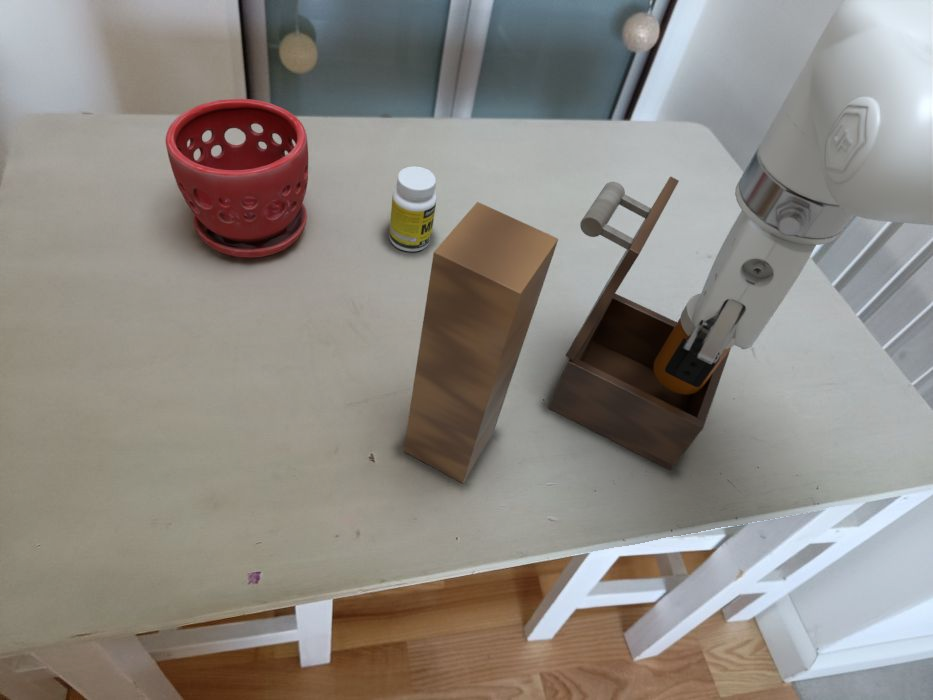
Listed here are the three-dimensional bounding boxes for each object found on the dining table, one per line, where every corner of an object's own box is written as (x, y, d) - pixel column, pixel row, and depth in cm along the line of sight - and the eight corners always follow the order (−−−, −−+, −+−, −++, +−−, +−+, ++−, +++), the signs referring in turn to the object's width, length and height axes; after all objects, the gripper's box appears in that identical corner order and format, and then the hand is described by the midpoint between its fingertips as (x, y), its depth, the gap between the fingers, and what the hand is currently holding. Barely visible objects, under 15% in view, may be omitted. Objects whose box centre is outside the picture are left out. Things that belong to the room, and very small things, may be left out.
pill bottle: (711, 366, 63) (752, 309, 57) (697, 404, 60) (738, 348, 54) (661, 342, 64) (695, 284, 58) (645, 379, 61) (679, 321, 55)
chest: (699, 391, 70) (731, 347, 64) (670, 470, 63) (703, 428, 58) (586, 337, 72) (607, 289, 67) (547, 407, 66) (567, 361, 60)
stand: (493, 433, 63) (558, 238, 45) (462, 483, 59) (520, 293, 41) (436, 403, 64) (477, 201, 46) (403, 451, 60) (433, 251, 42)
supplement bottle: (424, 257, 76) (432, 197, 70) (383, 246, 76) (387, 185, 70) (435, 230, 79) (444, 170, 73) (396, 219, 79) (401, 158, 73)
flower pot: (319, 196, 80) (317, 104, 71) (299, 276, 72) (293, 183, 62) (204, 181, 79) (186, 84, 69) (169, 261, 70) (144, 163, 61)
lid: (679, 180, 56) (624, 151, 56) (639, 254, 49) (578, 220, 50) (613, 288, 66) (567, 263, 67) (573, 360, 60) (523, 332, 60)
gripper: (836, 290, 40) (706, 447, 55) (867, 152, 51) (751, 314, 65) (715, 237, 42) (619, 403, 56) (769, 113, 52) (677, 280, 66)
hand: (691, 354), depth 60 cm, fingers closed on pill bottle, 4 cm apart
